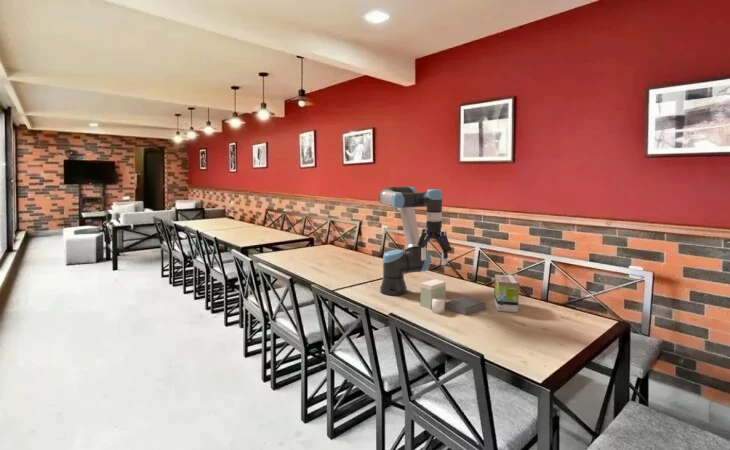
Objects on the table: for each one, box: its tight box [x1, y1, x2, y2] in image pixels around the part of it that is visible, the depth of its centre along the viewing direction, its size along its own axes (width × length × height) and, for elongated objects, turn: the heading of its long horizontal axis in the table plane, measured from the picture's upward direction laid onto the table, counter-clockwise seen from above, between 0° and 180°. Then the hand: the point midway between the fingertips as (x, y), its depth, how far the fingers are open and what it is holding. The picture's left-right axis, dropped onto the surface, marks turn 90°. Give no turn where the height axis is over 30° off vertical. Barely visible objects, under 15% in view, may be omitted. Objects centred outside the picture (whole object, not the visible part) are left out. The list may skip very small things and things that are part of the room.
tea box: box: [493, 274, 520, 313], centre depth 198 cm, size 15×10×15 cm
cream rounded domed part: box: [431, 298, 446, 315], centre depth 193 cm, size 6×6×6 cm
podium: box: [445, 295, 486, 316], centre depth 198 cm, size 13×16×3 cm
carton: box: [419, 278, 447, 310], centre depth 202 cm, size 7×11×12 cm, turn 128°
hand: (433, 262), depth 199 cm, fingers open, 13 cm apart
